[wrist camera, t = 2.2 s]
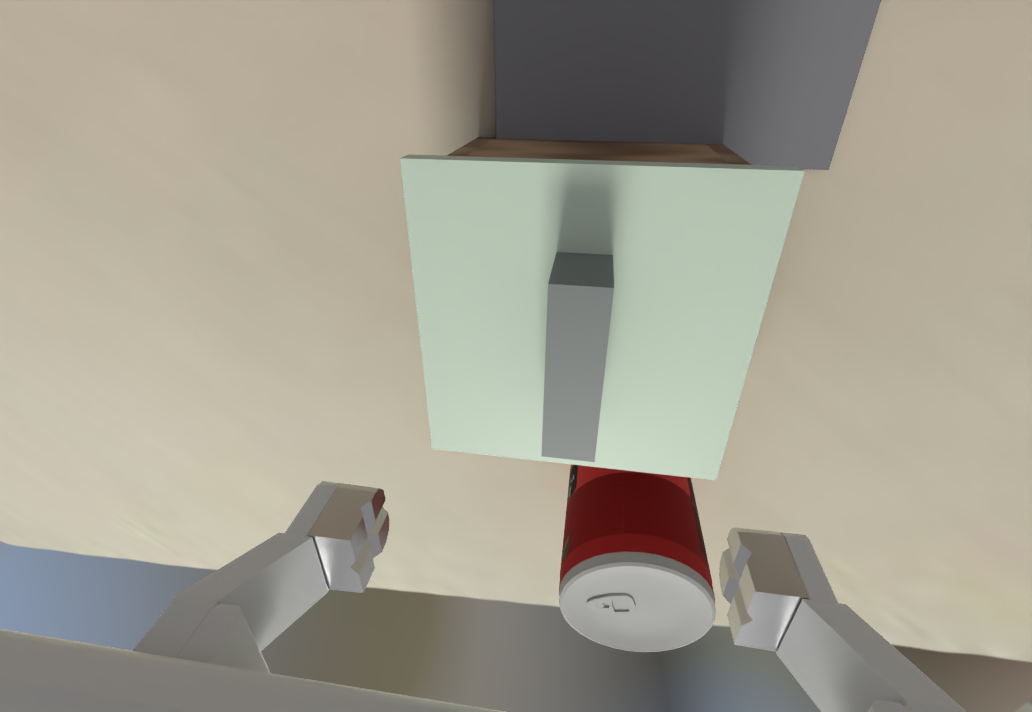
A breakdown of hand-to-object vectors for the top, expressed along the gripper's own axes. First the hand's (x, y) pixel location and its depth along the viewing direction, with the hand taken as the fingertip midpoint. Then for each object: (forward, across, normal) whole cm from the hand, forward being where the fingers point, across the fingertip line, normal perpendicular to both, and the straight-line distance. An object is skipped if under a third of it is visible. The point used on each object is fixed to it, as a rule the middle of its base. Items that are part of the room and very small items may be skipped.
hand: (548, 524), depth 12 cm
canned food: (+19, -4, +15) cm, 25 cm away
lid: (+11, 0, 0) cm, 11 cm away
